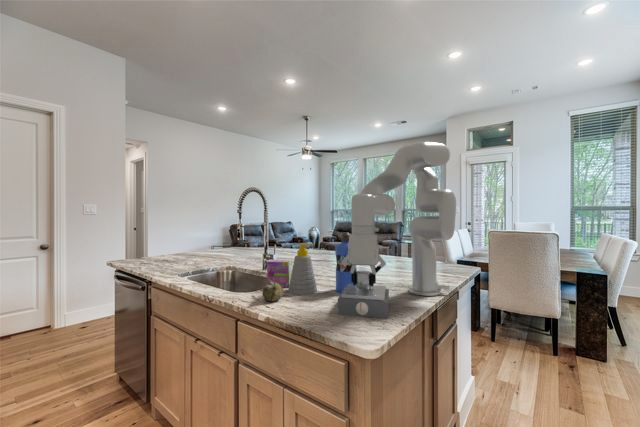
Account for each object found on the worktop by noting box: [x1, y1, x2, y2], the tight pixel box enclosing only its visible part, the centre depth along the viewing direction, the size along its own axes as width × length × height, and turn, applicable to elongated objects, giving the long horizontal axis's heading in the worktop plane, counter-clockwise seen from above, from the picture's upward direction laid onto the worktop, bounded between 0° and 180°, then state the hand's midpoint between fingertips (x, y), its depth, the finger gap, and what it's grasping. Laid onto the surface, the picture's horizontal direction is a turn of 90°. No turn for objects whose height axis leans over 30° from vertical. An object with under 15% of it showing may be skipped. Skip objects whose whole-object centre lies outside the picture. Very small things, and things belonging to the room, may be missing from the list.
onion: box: [262, 280, 284, 302], centre depth 110 cm, size 8×8×8 cm
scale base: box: [337, 287, 390, 319], centre depth 100 cm, size 16×17×5 cm
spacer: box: [356, 270, 372, 289], centre depth 96 cm, size 5×5×5 cm
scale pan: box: [340, 284, 387, 301], centre depth 100 cm, size 14×14×1 cm
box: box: [266, 259, 293, 289], centre depth 132 cm, size 10×6×12 cm, turn 80°
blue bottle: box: [334, 231, 358, 294], centre depth 123 cm, size 9×9×25 cm
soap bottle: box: [287, 243, 318, 296], centre depth 123 cm, size 12×12×20 cm
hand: (363, 284), depth 96 cm, fingers open, 5 cm apart
